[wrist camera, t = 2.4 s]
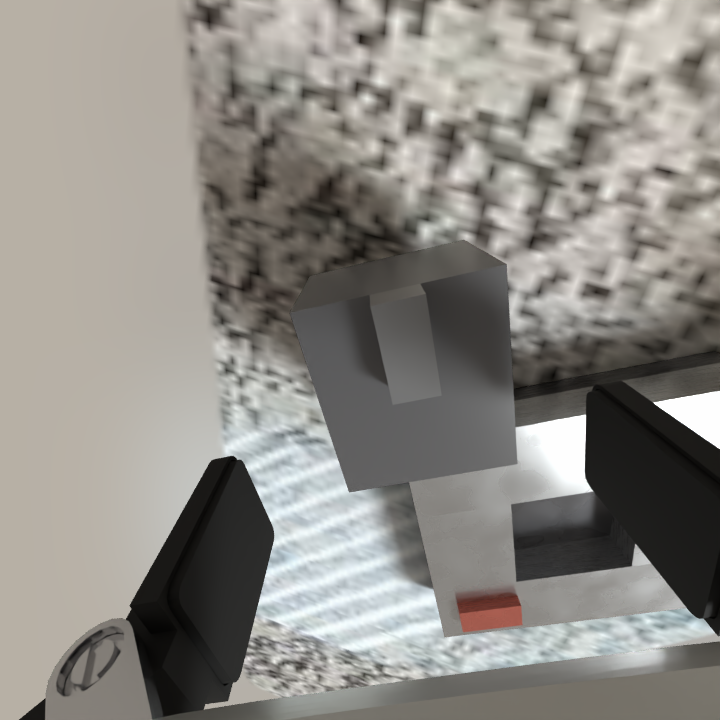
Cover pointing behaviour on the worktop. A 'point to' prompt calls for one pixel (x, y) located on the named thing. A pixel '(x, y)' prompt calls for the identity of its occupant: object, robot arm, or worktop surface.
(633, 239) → the worktop surface
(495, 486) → the socket
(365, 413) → the plug
